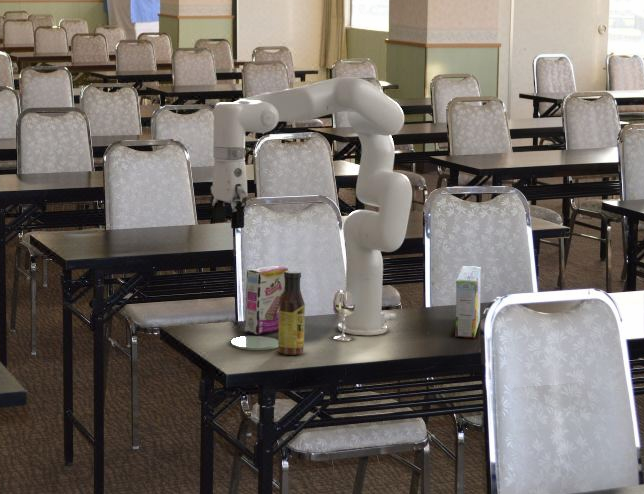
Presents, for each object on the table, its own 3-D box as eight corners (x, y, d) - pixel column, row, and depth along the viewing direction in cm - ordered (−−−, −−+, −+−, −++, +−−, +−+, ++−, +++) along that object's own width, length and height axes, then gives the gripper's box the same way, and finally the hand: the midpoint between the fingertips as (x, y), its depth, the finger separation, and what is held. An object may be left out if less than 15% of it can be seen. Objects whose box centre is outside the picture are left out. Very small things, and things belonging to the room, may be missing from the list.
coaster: (263, 336, 315) (263, 334, 315) (289, 346, 304) (289, 344, 304) (222, 341, 309) (222, 339, 309) (248, 352, 298) (248, 349, 298)
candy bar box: (258, 335, 315) (259, 272, 313) (244, 332, 319) (245, 269, 317) (287, 329, 323) (288, 267, 321) (272, 325, 327) (274, 264, 325)
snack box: (459, 319, 338) (461, 265, 336) (480, 321, 336) (482, 266, 334) (453, 337, 317) (455, 279, 315) (475, 338, 316) (478, 280, 314)
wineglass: (357, 337, 315) (358, 291, 314) (350, 342, 310) (351, 295, 309) (335, 334, 318) (337, 289, 316) (328, 339, 312) (329, 293, 311)
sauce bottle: (301, 357, 295) (303, 275, 292) (276, 355, 296) (277, 273, 294) (305, 350, 301) (307, 270, 299) (279, 348, 302) (281, 268, 300)
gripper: (260, 157, 288) (259, 229, 291) (226, 150, 304) (226, 219, 306) (231, 158, 285) (230, 231, 287) (199, 151, 301) (198, 221, 303)
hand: (228, 225), depth 297 cm, fingers open, 9 cm apart
